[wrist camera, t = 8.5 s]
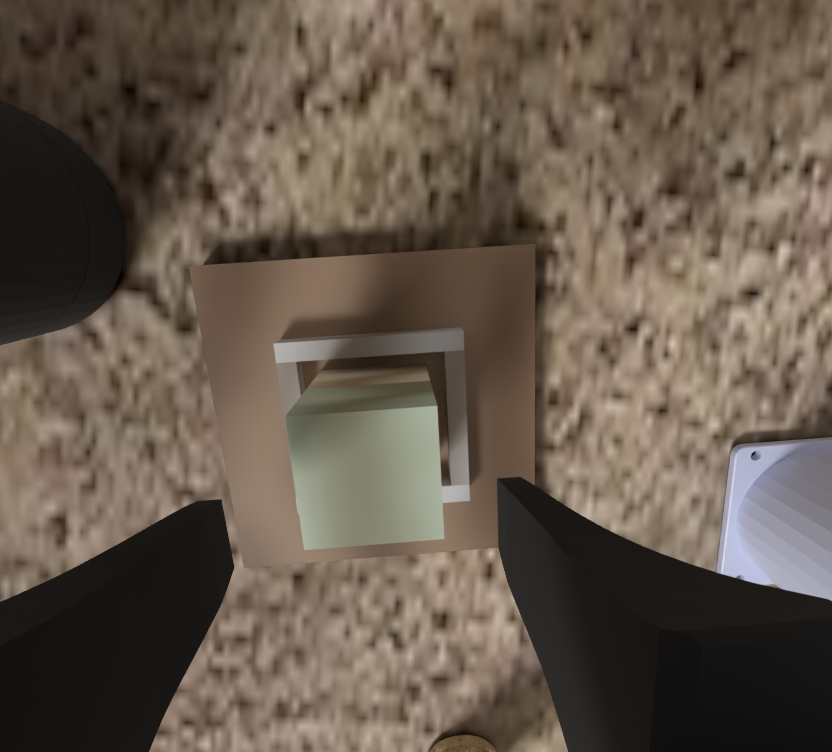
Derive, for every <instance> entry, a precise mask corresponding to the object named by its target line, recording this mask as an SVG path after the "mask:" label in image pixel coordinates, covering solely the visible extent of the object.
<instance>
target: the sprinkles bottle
mask: <svg viewBox="0 0 832 752" xmlns="http://www.w3.org/2000/svg"><path fill="white" fill-rule="evenodd" d="M430 752H496V750H495V749H494V747H493V745H492V744H490V743H489V742H487V741H486V740H485V739H483V738H481V737H478V736H472V735H458V736H451V737H448V738H445V739H443V740H442V741H439V742H438V743H437V744H436V745H435V746H434V747H433V748H432V749H431V750H430Z"/></svg>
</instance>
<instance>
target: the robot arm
mask: <svg viewBox="0 0 832 752" xmlns="http://www.w3.org/2000/svg"><path fill="white" fill-rule="evenodd" d="M754 451H755V453H754V455H753V456H752V457H751V454H752V453H753V452H754ZM497 506H498V547H499V551H500V555H501V559H502V563H503V567H504V571H505V574H506V578H507V582H508V584H509V587H510V589H511V592H512V594H513V597H514V599H515V602H516V604H517V607H518V609H519V612H520V614H521V617H522V619H523V622H524V624H525V627H526V629H527V631H528V634H529V636H530V639H531V641H532V644H533V646H534V649H535V651H536V654H537V656H538V658H539V661H540V663H541V666H542V669H543V672H544V674H545V677H546V680H547V683H548V686H549V689H550V692H551V695H552V699H553V702H554V705H555V709H556V712H557V715H558V719H559V722H560V725H561V729H562V732H563V735H564V739H565V742H566V746H567V749H568V752H832V437H828V438H815V439H801V440H788V441H775V442H762V443H748V444H740V445H737V446H736V447H734V448H733V450H732V451H731V454H730V463H729V471H728V480H727V488H726V496H725V505H724V513H723V521H722V530H721V538H720V547H719V555H718V563H717V572H713V571H710V570H707V569H704V568H700V567H697V566H694V565H691V564H688V563H685V562H683V561H680V560H677V559H674V558H672V557H669V556H666V555H663V554H661V553H658V552H656V551H653V550H651V549H648V548H646V547H643V546H641V545H639V544H637V543H634V542H632V541H630V540H628V539H625V538H623V537H621V536H619V535H617V534H615V533H613V532H611V531H609V530H607V529H605V528H603V527H601V526H599V525H597V524H596V523H594V522H592V521H590V520H588V519H587V518H585V517H583V516H581V515H580V514H578V513H576V512H575V511H573V510H571V509H570V508H568V507H566V506H565V505H563V504H562V503H560V502H559V501H557V500H556V499H554V498H552V497H551V496H549V495H548V494H546V493H545V492H543V491H542V490H540V489H539V488H537V487H536V486H534V485H533V484H531V483H530V482H528V481H527V480H525V479H523V478H521V477H510V478H497ZM233 570H234V564H233V558H232V553H231V548H230V543H229V537H228V532H227V527H226V521H225V516H224V511H223V506H222V500H221V499H220V500H207V501H197V502H195V503H192V504H190V505H188V506H186V507H184V508H182V509H180V510H178V511H176V512H174V513H172V514H171V515H169V516H167V517H165V518H164V519H162V520H160V521H158V522H156V523H155V524H153V525H151V526H149V527H148V528H146V529H144V530H142V531H141V532H139V533H137V534H136V535H134V536H132V537H130V538H129V539H127V540H125V541H123V542H121V543H120V544H118V545H116V546H114V547H112V548H110V549H108V550H107V551H105V552H103V553H101V554H99V555H97V556H95V557H94V558H92V559H90V560H88V561H86V562H84V563H82V564H81V565H79V566H77V567H75V568H73V569H71V570H69V571H67V572H65V573H63V574H61V575H59V576H57V577H55V578H53V579H51V580H48V581H46V582H44V583H42V584H40V585H38V586H35V587H33V588H31V589H29V590H27V591H24V592H22V593H20V594H18V595H15V596H13V597H11V598H9V599H6V600H4V601H1V602H0V752H149V750H150V748H151V745H152V743H153V740H154V738H155V736H156V733H157V731H158V728H159V726H160V724H161V721H162V719H163V717H164V715H165V712H166V710H167V708H168V706H169V704H170V702H171V700H172V698H173V696H174V694H175V692H176V690H177V688H178V686H179V684H180V683H181V681H182V679H183V677H184V675H185V673H186V671H187V669H188V667H189V665H190V664H191V662H192V660H193V658H194V656H195V654H196V652H197V650H198V648H199V647H200V645H201V643H202V641H203V639H204V637H205V635H206V633H207V631H208V629H209V627H210V625H211V624H212V622H213V620H214V618H215V616H216V614H217V612H218V610H219V608H220V606H221V603H222V601H223V598H224V596H225V593H226V590H227V588H228V585H229V582H230V579H231V576H232V573H233ZM735 577H736V578H735ZM767 584H776V585H777V586H778V587H780V588H781V589H779V588H774V587H770V586H765V585H767Z"/></svg>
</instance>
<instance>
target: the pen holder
mask: <svg viewBox="0 0 832 752" xmlns="http://www.w3.org/2000/svg"><path fill="white" fill-rule="evenodd" d="M123 256H124V231H123V224H122V219H121V215H120V211H119V208H118V205H117V203H116V200H115V197H114V195H113V193H112V191H111V189H110V187H109V185H108V183H107V181H106V179H105V178H104V176H103V175H102V173H101V172H100V170H99V169H98V167H97V166H96V165H95V164H94V162H93V161H92V160H91V159H90V158H89V157H88V155H87V154H86V153H85V152H84V151H83V150H82V149H81V148H80V147H79V146H78V145H77V144H76V143H74V142H73V141H72V140H71V139H70V138H68V137H67V136H66V135H64V134H63V133H62V132H60V131H59V130H57V129H56V128H54V127H52V126H51V125H49V124H47V123H46V122H44V121H42V120H40V119H39V118H37V117H35V116H33V115H31V114H29V113H27V112H25V111H23V110H21V109H19V108H17V107H15V106H13V105H10V104H8V103H6V102H4V101H2V100H0V345H3V344H7V343H11V342H15V341H19V340H22V339H26V338H30V337H34V336H38V335H42V334H46V333H49V332H53V331H57V330H61V329H64V328H66V327H69V326H71V325H74V324H76V323H78V322H80V321H82V320H83V319H85V318H87V317H88V316H90V315H91V314H92V313H93V312H95V311H96V310H97V309H98V308H99V307H100V306H101V305H102V304H103V303H104V301H105V300H106V299H107V298H108V296H109V295H110V293H111V292H112V290H113V289H114V286H115V284H116V282H117V280H118V277H119V274H120V271H121V267H122V264H123Z"/></svg>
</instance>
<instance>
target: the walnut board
mask: <svg viewBox="0 0 832 752" xmlns="http://www.w3.org/2000/svg"><path fill="white" fill-rule="evenodd" d="M189 271H190V276H191V281H192V287H193V292H194V298H195V303H196V309H197V314H198V320H199V325H200V330H201V336H202V341H203V347H204V352H205V358H206V363H207V369H208V374H209V379H210V385H211V390H212V396H213V401H214V407H215V412H216V417H217V423H218V428H219V434H220V439H221V445H222V450H223V456H224V461H225V466H226V472H227V477H228V483H229V488H230V494H231V499H232V505H233V510H234V515H235V521H236V526H237V532H238V537H239V543H240V548H241V553H242V559H243V564H244V568H246V567H259V566H272V565H284V564H297V563H309V562H322V561H334V560H347V559H359V558H372V557H384V556H397V555H409V554H422V553H435V552H447V551H460V550H472V549H485V548H497V547H498V506H497V478H510V477H521V478H523V479H525V480H527V481H528V482H530V483H531V484H533V485H534V486H535V244H522V245H506V246H491V247H476V248H460V249H445V250H429V251H414V252H398V253H383V254H367V255H352V256H336V257H321V258H305V259H290V260H275V261H259V262H244V263H228V264H213V265H197V266H189ZM423 363H425V364H426V367H427V371H428V374H429V378H430V382H431V385H432V389H433V392H434V396H435V399H436V403H437V410H438V428H439V447H440V465H441V484H442V502H443V520H444V539H439V540H426V541H414V542H401V543H388V544H376V545H363V546H350V547H338V548H325V549H312V550H304V546H303V539H302V532H301V525H300V518H299V511H298V504H297V497H296V490H295V483H294V476H293V469H292V462H291V455H290V448H289V441H288V434H287V427H286V420H285V416H286V415H287V414H288V412H289V411H290V410H291V408H292V407H293V406H294V404H295V403H296V402H297V401H298V399H299V398H300V397H301V395H302V394H303V393H304V392H305V390H306V389H307V388H308V386H309V385H310V384H311V383H312V381H313V380H314V379H315V377H316V376H317V375H318V374H319V372H320V371H323V370H338V369H352V368H366V367H380V366H395V365H409V364H423Z"/></svg>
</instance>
